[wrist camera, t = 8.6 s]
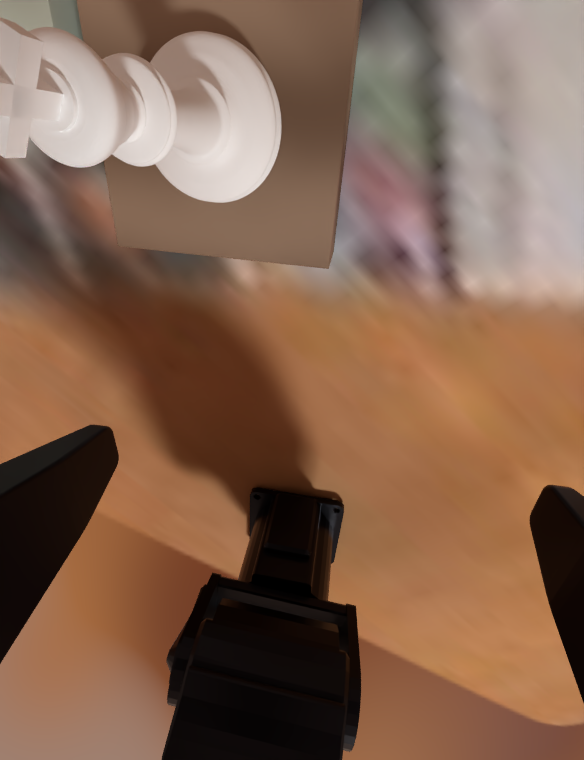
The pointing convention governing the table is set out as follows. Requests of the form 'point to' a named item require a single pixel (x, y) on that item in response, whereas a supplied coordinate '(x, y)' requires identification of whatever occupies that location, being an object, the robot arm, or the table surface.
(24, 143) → the chess piece
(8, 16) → the sage slab
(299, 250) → the walnut slab
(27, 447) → the table surface
